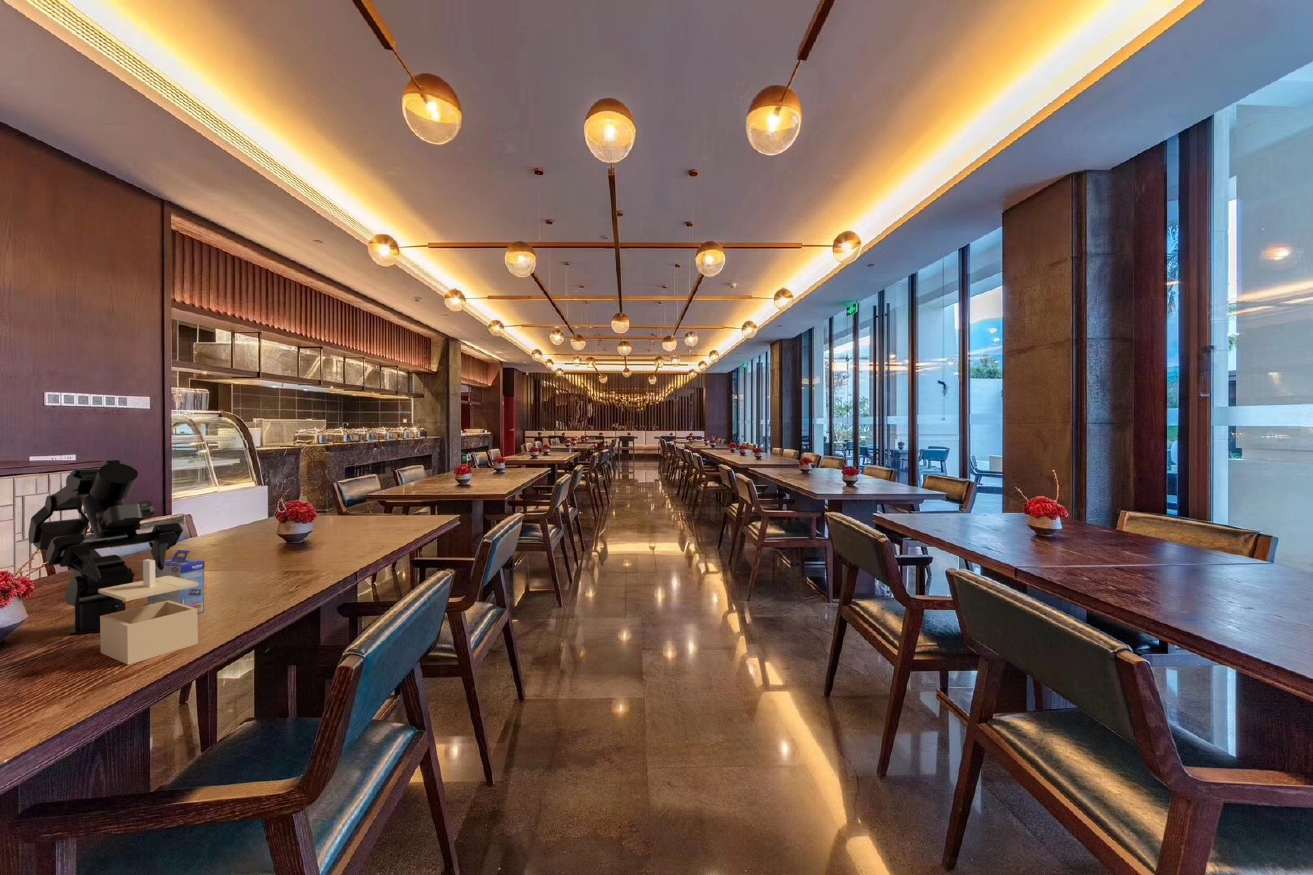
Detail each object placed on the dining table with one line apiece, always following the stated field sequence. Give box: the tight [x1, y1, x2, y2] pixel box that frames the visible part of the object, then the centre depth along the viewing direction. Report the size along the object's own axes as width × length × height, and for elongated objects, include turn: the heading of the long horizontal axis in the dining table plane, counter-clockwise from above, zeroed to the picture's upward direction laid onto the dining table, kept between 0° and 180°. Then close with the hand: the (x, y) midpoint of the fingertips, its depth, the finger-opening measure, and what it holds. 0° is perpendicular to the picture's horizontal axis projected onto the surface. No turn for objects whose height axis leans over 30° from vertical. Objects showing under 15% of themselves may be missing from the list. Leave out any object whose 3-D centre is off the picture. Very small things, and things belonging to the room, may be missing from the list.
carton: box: [99, 600, 199, 665], centre depth 98 cm, size 12×10×7 cm
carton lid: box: [98, 558, 198, 602], centre depth 98 cm, size 12×10×6 cm
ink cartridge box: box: [147, 549, 206, 615], centre depth 117 cm, size 10×6×14 cm, turn 78°
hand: (131, 574), depth 101 cm, fingers open, 9 cm apart
